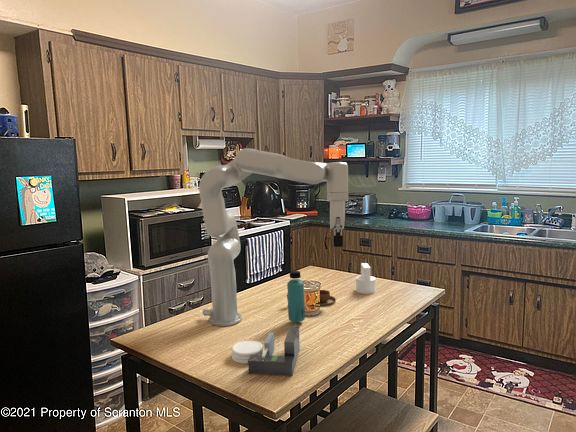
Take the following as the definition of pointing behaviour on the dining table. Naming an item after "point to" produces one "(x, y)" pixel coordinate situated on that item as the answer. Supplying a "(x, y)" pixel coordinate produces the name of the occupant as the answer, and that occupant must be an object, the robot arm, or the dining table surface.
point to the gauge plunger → (269, 345)
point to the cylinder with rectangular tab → (365, 280)
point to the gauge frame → (278, 358)
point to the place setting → (324, 298)
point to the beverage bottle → (296, 298)
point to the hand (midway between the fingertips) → (338, 243)
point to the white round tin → (246, 350)
